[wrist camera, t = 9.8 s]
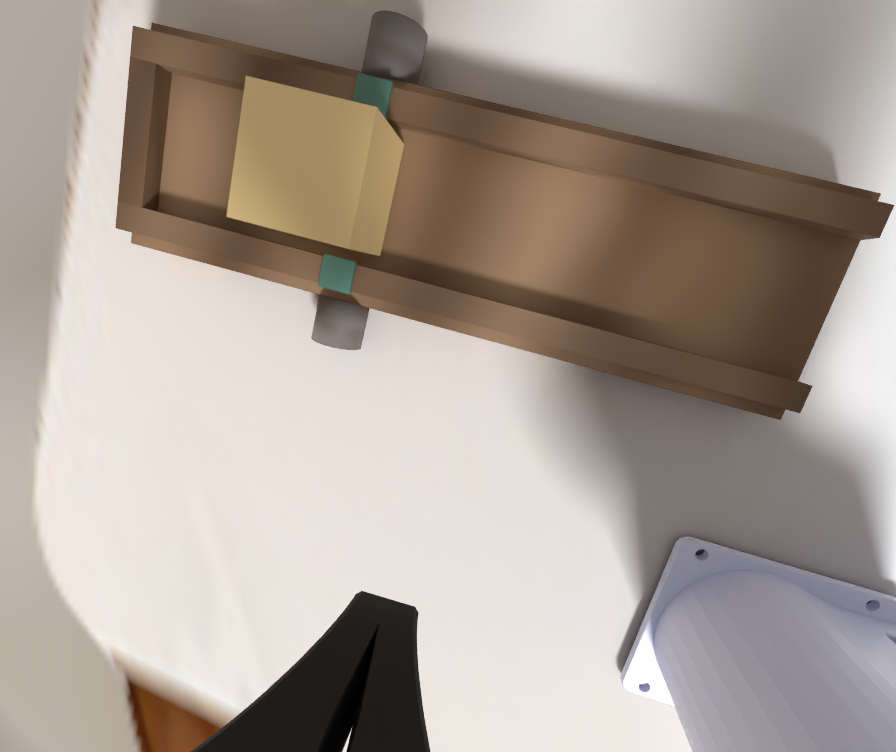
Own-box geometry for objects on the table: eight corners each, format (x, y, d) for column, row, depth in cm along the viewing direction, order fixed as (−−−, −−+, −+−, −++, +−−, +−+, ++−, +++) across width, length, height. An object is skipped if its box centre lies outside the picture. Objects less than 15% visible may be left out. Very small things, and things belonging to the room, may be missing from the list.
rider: (404, 144, 16) (377, 107, 13) (380, 256, 17) (348, 249, 14) (299, 118, 17) (245, 75, 13) (281, 230, 17) (226, 216, 14)
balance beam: (869, 149, 16) (935, 124, 13) (740, 450, 18) (776, 475, 16) (185, -7, 18) (134, -54, 15) (154, 286, 20) (106, 286, 18)
